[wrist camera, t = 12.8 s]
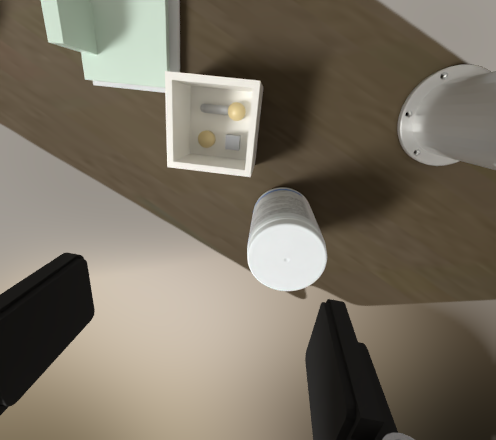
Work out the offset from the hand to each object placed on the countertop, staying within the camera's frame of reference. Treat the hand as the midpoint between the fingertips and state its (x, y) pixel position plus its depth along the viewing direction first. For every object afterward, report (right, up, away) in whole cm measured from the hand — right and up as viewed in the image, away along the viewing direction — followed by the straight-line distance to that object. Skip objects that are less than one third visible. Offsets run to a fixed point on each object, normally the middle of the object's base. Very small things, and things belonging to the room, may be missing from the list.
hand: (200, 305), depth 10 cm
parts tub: (-2, +18, +28) cm, 33 cm away
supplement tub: (+8, +5, +33) cm, 34 cm away
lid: (-14, +28, +24) cm, 39 cm away
